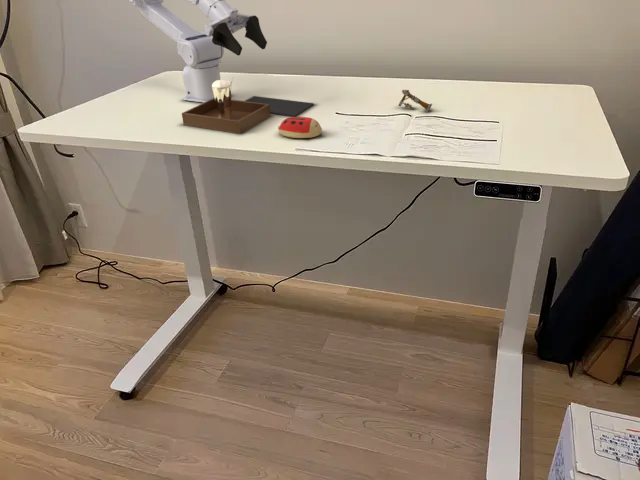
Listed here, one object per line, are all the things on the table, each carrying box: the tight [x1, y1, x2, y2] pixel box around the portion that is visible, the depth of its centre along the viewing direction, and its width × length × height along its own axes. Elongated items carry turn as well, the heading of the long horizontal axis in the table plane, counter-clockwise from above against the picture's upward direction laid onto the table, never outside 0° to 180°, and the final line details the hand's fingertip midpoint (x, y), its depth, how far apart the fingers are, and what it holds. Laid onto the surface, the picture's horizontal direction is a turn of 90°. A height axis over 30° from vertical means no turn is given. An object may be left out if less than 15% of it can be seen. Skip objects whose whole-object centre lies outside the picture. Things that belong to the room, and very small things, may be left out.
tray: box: [181, 98, 272, 135], centre depth 134 cm, size 16×13×3 cm
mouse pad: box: [245, 95, 315, 117], centre depth 142 cm, size 18×10×1 cm, turn 63°
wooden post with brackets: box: [398, 89, 433, 113], centre depth 136 cm, size 2×8×4 cm, turn 62°
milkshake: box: [212, 77, 234, 119], centre depth 132 cm, size 5×5×10 cm
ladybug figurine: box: [277, 116, 323, 139], centre depth 124 cm, size 7×10×4 cm
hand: (252, 48), depth 131 cm, fingers open, 7 cm apart
